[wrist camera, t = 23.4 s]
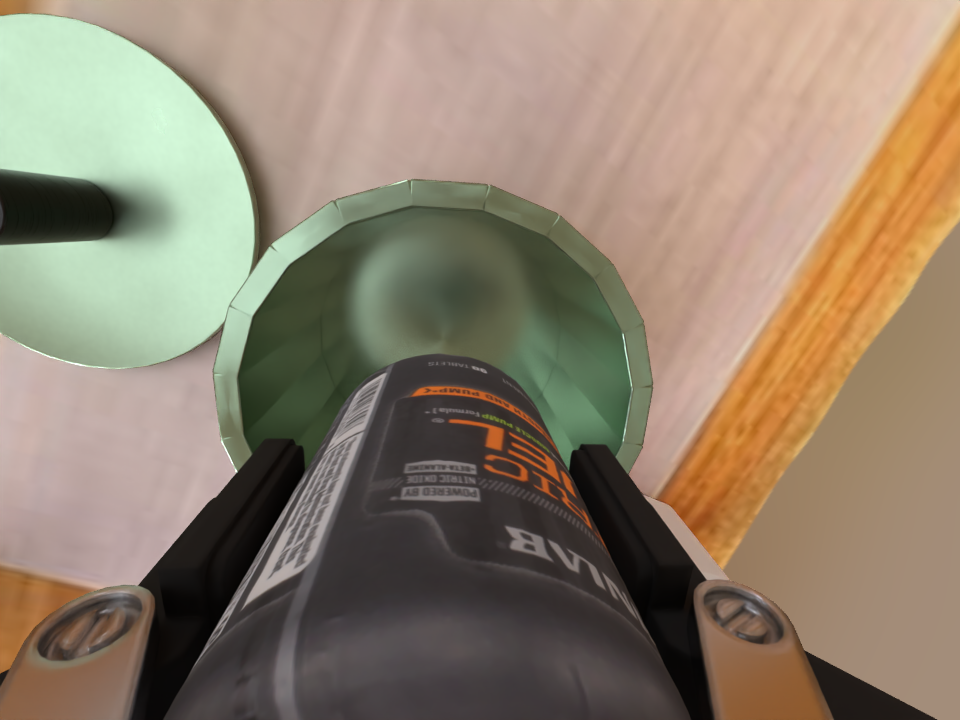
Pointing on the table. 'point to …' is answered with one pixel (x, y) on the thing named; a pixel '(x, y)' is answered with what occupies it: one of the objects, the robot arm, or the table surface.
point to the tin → (432, 316)
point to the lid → (113, 199)
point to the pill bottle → (432, 575)
